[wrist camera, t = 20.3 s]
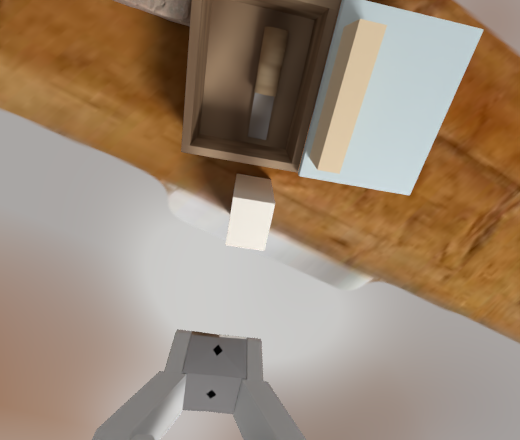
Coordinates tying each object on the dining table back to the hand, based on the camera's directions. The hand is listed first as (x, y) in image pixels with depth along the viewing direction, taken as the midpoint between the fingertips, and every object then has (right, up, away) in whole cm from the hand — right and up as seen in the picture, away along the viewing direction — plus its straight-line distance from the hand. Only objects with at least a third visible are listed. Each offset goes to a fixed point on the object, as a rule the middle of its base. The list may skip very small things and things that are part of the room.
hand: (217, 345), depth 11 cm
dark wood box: (+1, +20, +22) cm, 30 cm away
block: (0, +7, +29) cm, 30 cm away
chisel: (+2, +19, +22) cm, 29 cm away
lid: (+13, +15, +17) cm, 26 cm away
